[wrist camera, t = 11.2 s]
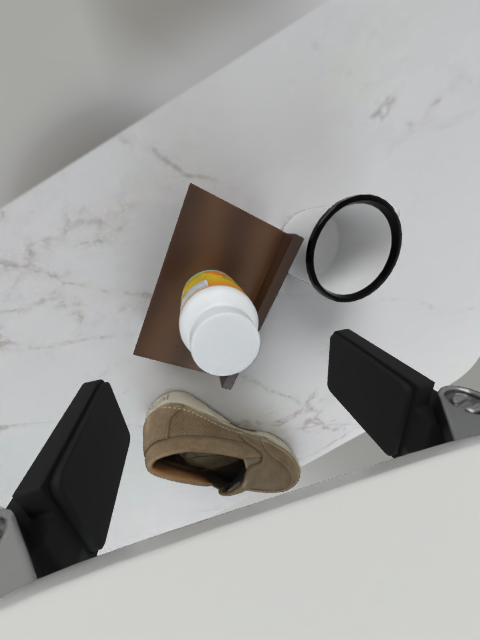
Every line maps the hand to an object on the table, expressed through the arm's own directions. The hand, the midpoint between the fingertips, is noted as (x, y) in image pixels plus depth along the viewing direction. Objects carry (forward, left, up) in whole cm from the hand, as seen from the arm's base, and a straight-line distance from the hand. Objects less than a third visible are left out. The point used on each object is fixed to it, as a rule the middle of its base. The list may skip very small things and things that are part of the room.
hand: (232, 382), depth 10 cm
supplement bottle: (0, 0, -13) cm, 13 cm away
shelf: (0, 0, -20) cm, 20 cm away
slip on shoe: (+13, -23, -20) cm, 34 cm away
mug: (+11, +10, -20) cm, 25 cm away
